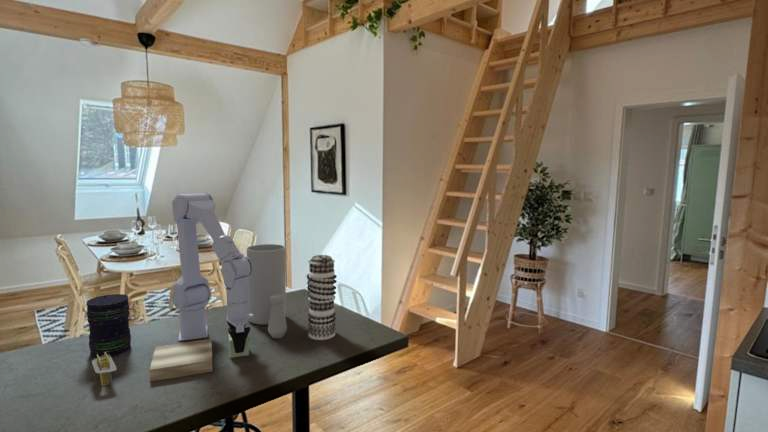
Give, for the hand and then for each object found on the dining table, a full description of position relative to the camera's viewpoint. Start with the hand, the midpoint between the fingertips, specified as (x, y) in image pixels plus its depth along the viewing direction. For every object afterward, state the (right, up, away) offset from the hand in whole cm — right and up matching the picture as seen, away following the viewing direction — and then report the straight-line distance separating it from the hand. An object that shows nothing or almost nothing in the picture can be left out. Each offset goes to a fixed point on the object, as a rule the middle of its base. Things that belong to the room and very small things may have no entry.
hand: (238, 347), depth 117 cm
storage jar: (-36, -1, 0) cm, 36 cm away
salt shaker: (+8, 0, +12) cm, 15 cm away
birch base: (-12, -2, -7) cm, 14 cm away
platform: (-27, -4, -16) cm, 32 cm away
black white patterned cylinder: (+21, 0, +14) cm, 25 cm away
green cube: (0, -2, 0) cm, 2 cm away
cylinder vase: (+1, +1, +26) cm, 26 cm away
